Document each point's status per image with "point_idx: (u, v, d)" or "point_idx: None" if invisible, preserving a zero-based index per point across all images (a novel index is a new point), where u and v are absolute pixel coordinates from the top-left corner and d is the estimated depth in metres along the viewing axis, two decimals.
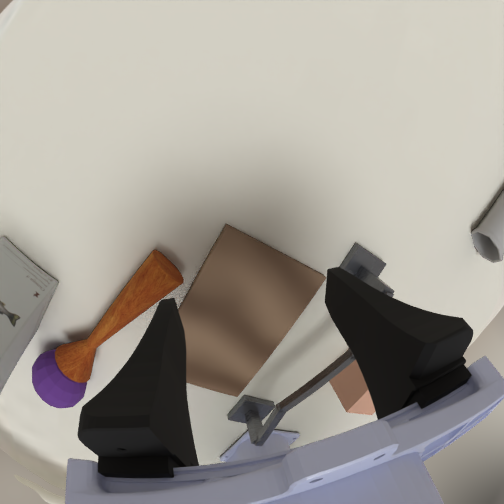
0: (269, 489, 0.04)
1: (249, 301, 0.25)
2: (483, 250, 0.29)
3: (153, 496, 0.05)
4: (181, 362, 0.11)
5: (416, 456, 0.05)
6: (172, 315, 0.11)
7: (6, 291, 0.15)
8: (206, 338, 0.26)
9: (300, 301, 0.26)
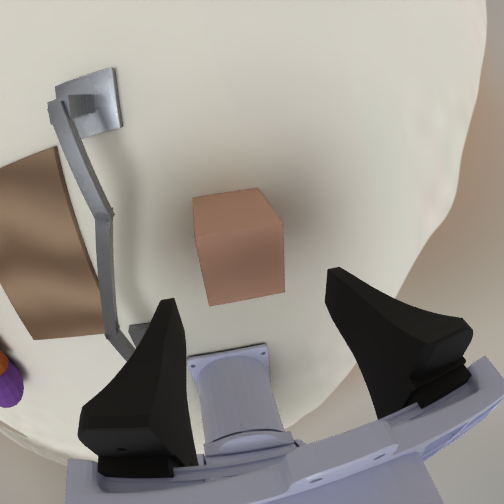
0: (269, 489, 0.04)
1: (19, 229, 0.17)
2: None
3: (153, 496, 0.05)
4: (181, 362, 0.11)
5: (416, 456, 0.05)
6: (172, 315, 0.11)
7: None
8: (29, 286, 0.19)
9: (53, 192, 0.16)
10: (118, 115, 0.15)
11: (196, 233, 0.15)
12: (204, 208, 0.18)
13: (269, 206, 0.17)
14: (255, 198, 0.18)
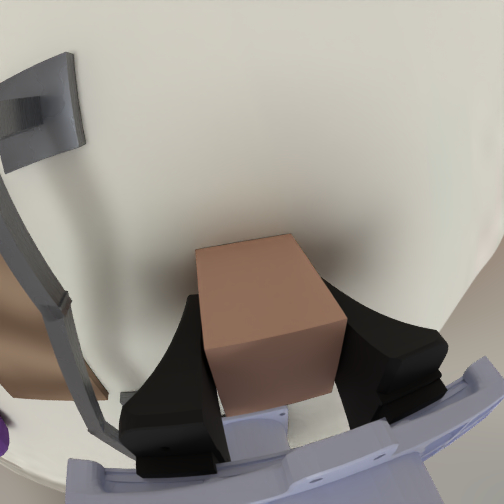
0: (269, 489, 0.04)
1: None
2: None
3: (153, 496, 0.05)
4: None
5: (416, 456, 0.05)
6: None
7: None
8: None
9: None
10: (75, 126, 0.09)
11: (206, 339, 0.09)
12: (214, 276, 0.11)
13: (317, 277, 0.11)
14: (292, 257, 0.12)
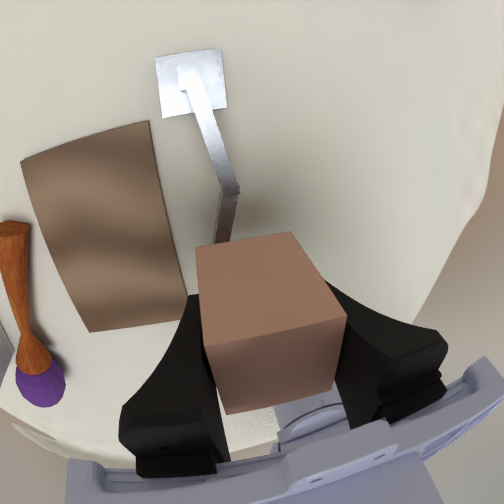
0: (269, 489, 0.04)
1: (92, 208, 0.18)
2: None
3: (153, 496, 0.05)
4: None
5: (416, 456, 0.05)
6: None
7: None
8: (95, 272, 0.20)
9: (142, 168, 0.18)
10: (225, 95, 0.16)
11: (206, 335, 0.09)
12: (214, 273, 0.11)
13: (317, 274, 0.11)
14: (292, 255, 0.12)
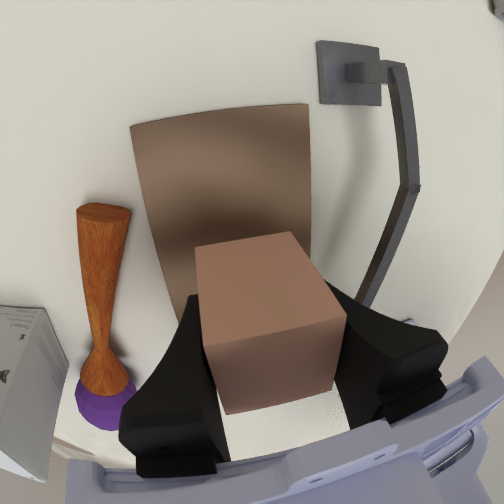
0: (269, 489, 0.04)
1: (228, 193, 0.17)
2: None
3: (153, 496, 0.05)
4: None
5: (416, 456, 0.05)
6: None
7: None
8: None
9: (296, 154, 0.16)
10: (380, 94, 0.15)
11: (205, 335, 0.09)
12: (213, 273, 0.11)
13: (317, 274, 0.11)
14: (291, 254, 0.12)
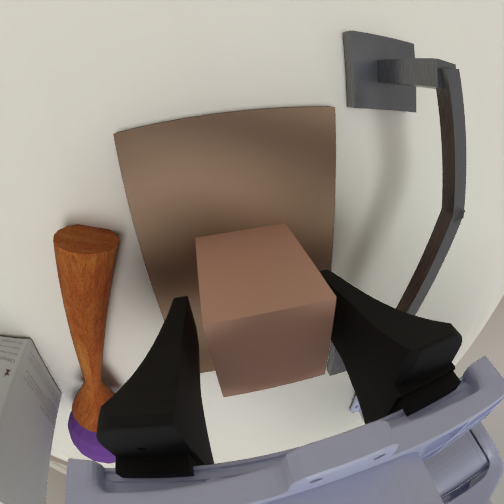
0: (269, 489, 0.04)
1: (237, 216, 0.14)
2: None
3: (153, 496, 0.05)
4: (195, 360, 0.11)
5: (416, 456, 0.05)
6: (187, 313, 0.11)
7: None
8: None
9: (320, 167, 0.14)
10: (415, 97, 0.12)
11: (204, 315, 0.09)
12: (213, 261, 0.12)
13: (309, 261, 0.12)
14: (286, 244, 0.13)
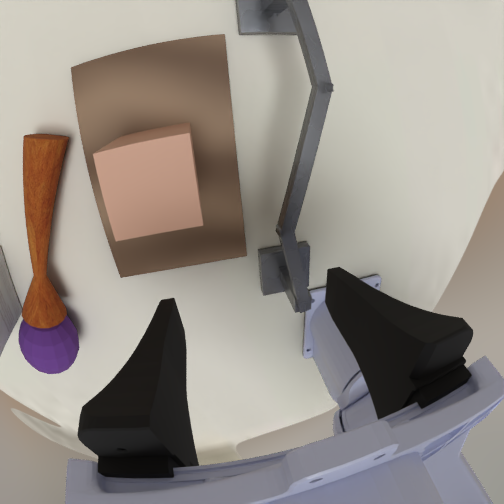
0: (269, 489, 0.04)
1: (151, 117, 0.16)
2: None
3: (153, 496, 0.05)
4: (181, 362, 0.11)
5: (416, 456, 0.05)
6: (172, 315, 0.11)
7: None
8: None
9: (215, 78, 0.16)
10: None
11: (97, 151, 0.12)
12: (123, 139, 0.14)
13: (187, 128, 0.14)
14: (179, 126, 0.15)
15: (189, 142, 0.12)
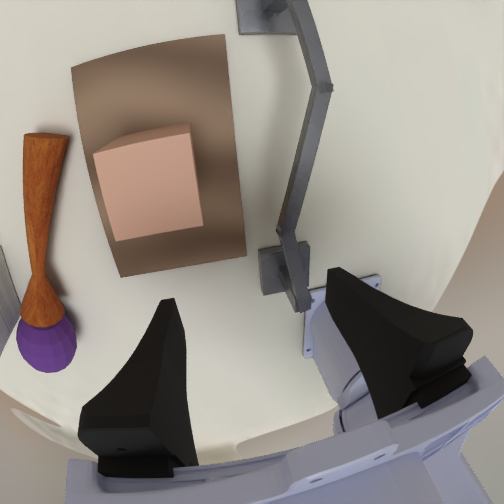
0: (269, 489, 0.04)
1: (151, 117, 0.16)
2: None
3: (153, 496, 0.05)
4: (181, 362, 0.11)
5: (416, 456, 0.05)
6: (172, 315, 0.11)
7: None
8: None
9: (215, 78, 0.16)
10: None
11: (97, 151, 0.12)
12: (123, 139, 0.14)
13: (187, 128, 0.14)
14: (179, 126, 0.15)
15: (189, 142, 0.12)
